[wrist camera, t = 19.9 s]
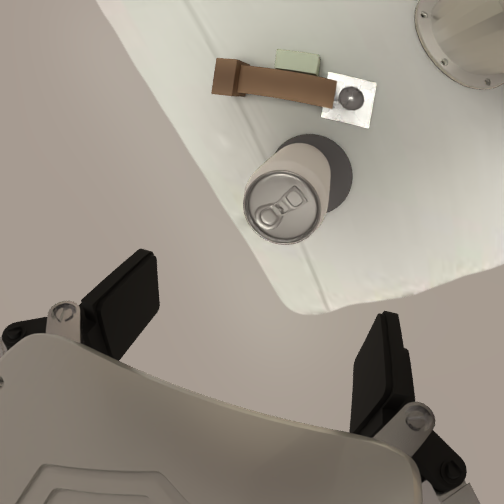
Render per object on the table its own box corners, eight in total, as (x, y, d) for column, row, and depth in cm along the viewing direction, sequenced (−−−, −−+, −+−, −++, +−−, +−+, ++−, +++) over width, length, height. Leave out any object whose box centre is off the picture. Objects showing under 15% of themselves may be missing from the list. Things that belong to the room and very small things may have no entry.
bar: (331, 112, 27) (330, 113, 23) (227, 94, 29) (211, 93, 25) (337, 79, 25) (338, 75, 21) (231, 63, 27) (216, 58, 23)
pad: (359, 144, 29) (360, 145, 28) (341, 221, 33) (341, 223, 33) (276, 127, 30) (275, 127, 30) (265, 204, 35) (264, 205, 34)
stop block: (320, 59, 25) (318, 54, 23) (317, 76, 26) (316, 73, 24) (282, 53, 26) (276, 49, 24) (279, 71, 27) (274, 67, 25)
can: (259, 165, 32) (219, 199, 22) (305, 130, 29) (287, 145, 19) (296, 210, 34) (275, 264, 23) (342, 178, 30) (345, 220, 20)
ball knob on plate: (376, 83, 25) (384, 79, 20) (368, 128, 28) (374, 132, 23) (328, 72, 26) (327, 65, 21) (321, 117, 28) (318, 119, 24)
